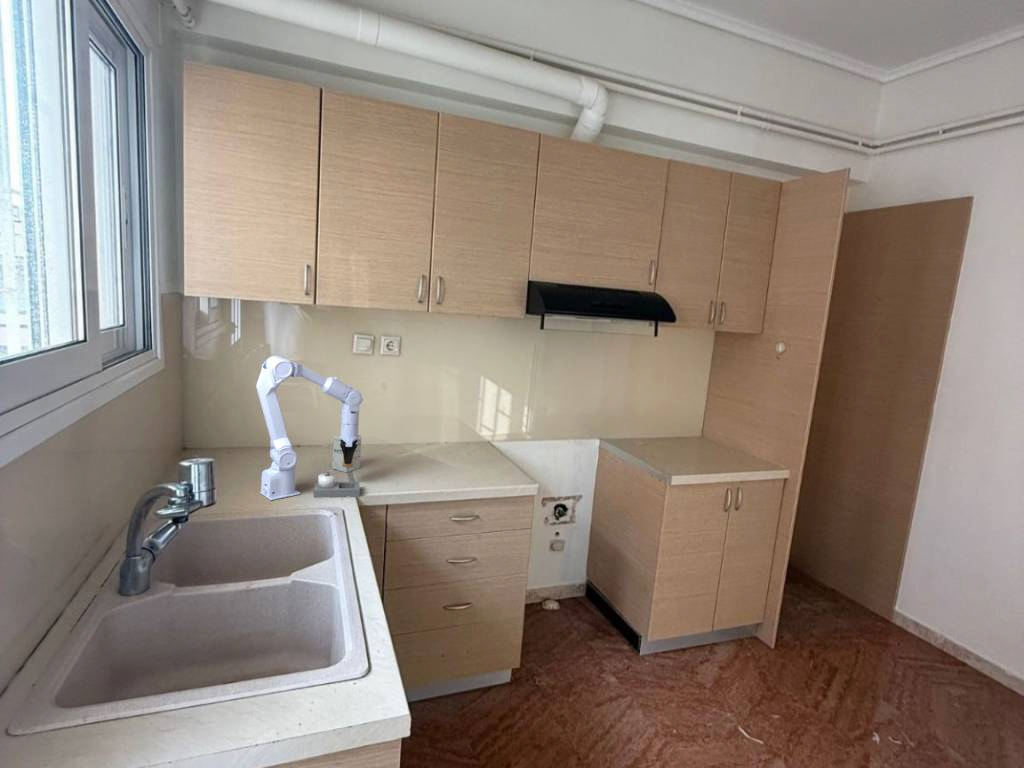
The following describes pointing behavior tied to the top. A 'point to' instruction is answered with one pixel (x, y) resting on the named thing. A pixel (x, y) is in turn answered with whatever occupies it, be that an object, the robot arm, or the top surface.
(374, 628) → the top surface
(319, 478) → the tray
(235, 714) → the top surface
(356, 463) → the supplement box
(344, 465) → the small orange jar
